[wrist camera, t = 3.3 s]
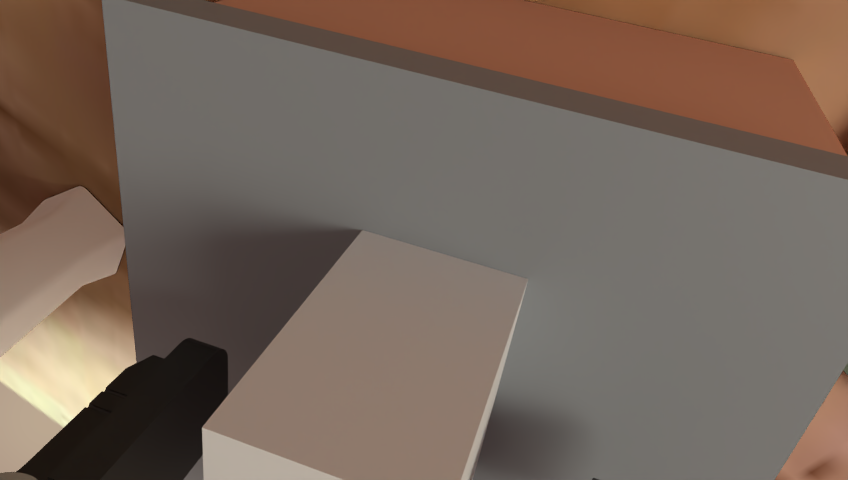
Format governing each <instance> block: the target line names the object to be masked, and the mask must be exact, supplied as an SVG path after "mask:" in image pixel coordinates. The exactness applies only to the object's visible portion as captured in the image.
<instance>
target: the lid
mask: <svg viewBox="0 0 848 480" xmlns="http://www.w3.org/2000/svg"><path fill="white" fill-rule="evenodd" d="M102 8H103V19H104V29H105V39H106V50H107V60H108V70H109V81H110V91H111V102H112V112H113V122H114V133H115V143H116V153H117V164H118V174H119V184H120V195H121V205H122V216H123V226H124V236H125V247H126V257H127V267H128V278H129V288H130V299H131V309H132V319H133V330H134V340H135V350H136V361H137V363H138V362H140V361H142V360H144V359H146V358H148V357H150V356H152V355H155V356H158V357H161V358H164V359H165V358H166V357H167V356H168V355H169V354H170V353H171V352H172V351H173V350H174V349H175V348H176V347H177V346H178V345H179V344H180V343H181V342H182V341H183V340H185V339H187V338H192V339H195V340H198V341H201V342H204V343H207V344H210V345H213V346H216V347H218V348H221V349H224V350H226V352H227V354H228V396H227V397H226V399H225V400H224V401H223V402H222V403H221V405H220V406H219V407H218V408H217V410H216V411H215V412H214V413H213V415H212V416H211V417H210V418H209V419H208V421H207V422H206V423H205V424H204V426H203V427H202V445H203V455H202V456H201V458H200V459H199V460H198V461H197V463H196V464H195V465H194V467H193V468H192V469H191V470H190V472H189V473H188V474H187V476H186V477H185V478H184V479H183V480H592V479H593V478H596V479H599V480H775V478H776V477H777V475H778V473H779V472H780V470H781V469H782V467H783V465H784V464H785V462H786V461H787V459H788V457H789V456H790V454H791V453H792V451H793V450H794V448H795V446H796V445H797V443H798V442H799V440H800V438H801V437H802V435H803V434H804V432H805V430H806V429H807V427H808V426H809V424H810V422H811V421H812V419H813V418H814V416H815V414H816V413H817V411H818V410H819V408H820V406H821V405H822V403H823V402H824V400H825V398H826V397H827V395H828V394H829V392H830V390H831V389H832V387H833V386H834V384H835V382H836V381H837V379H838V378H839V376H840V374H841V373H842V371H843V370H844V368H845V366H846V365H847V363H848V156H844V155H840V154H836V153H832V152H828V151H824V150H820V149H815V148H811V147H807V146H803V145H799V144H795V143H791V142H787V141H782V140H778V139H774V138H770V137H766V136H762V135H758V134H754V133H749V132H745V131H741V130H737V129H733V128H729V127H725V126H721V125H717V124H712V123H708V122H704V121H700V120H696V119H692V118H688V117H684V116H679V115H675V114H671V113H667V112H663V111H659V110H655V109H651V108H646V107H642V106H638V105H634V104H630V103H626V102H622V101H618V100H613V99H609V98H605V97H601V96H597V95H593V94H589V93H585V92H580V91H576V90H572V89H568V88H564V87H560V86H556V85H552V84H548V83H543V82H539V81H535V80H531V79H527V78H523V77H519V76H515V75H510V74H506V73H502V72H498V71H494V70H490V69H486V68H482V67H477V66H473V65H469V64H465V63H461V62H457V61H453V60H449V59H444V58H440V57H436V56H432V55H428V54H424V53H420V52H416V51H411V50H407V49H403V48H399V47H395V46H391V45H387V44H383V43H378V42H374V41H370V40H366V39H362V38H358V37H354V36H350V35H346V34H341V33H337V32H333V31H329V30H325V29H321V28H317V27H313V26H308V25H304V24H300V23H296V22H292V21H288V20H284V19H280V18H275V17H271V16H267V15H263V14H259V13H255V12H251V11H247V10H242V9H238V8H234V7H230V6H226V5H222V4H218V3H214V2H209V1H205V0H102Z"/></svg>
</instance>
